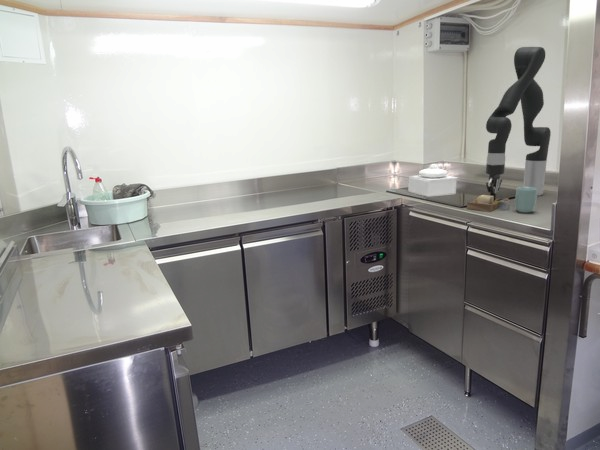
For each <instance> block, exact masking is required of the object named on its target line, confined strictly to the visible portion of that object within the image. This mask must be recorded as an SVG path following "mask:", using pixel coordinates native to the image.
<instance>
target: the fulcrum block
mask: <svg viewBox="0 0 600 450" xmlns="http://www.w3.org/2000/svg"><path fill="white" fill-rule="evenodd" d="M499 201H500V200H499ZM509 201H510V200H509ZM509 201H500V204H499V206H498V209H497V210H499V211H508V210H509V209H510V204H509Z"/></svg>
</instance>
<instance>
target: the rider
mask: <svg viewBox="0 0 600 450" xmlns="http://www.w3.org/2000/svg"><path fill="white" fill-rule="evenodd" d="M477 199H478V200H477V203H484V204H492V203H494V202H493V199H494V196H490V195H488V194H487V195H486V194H482V195H478V196H477Z"/></svg>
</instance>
